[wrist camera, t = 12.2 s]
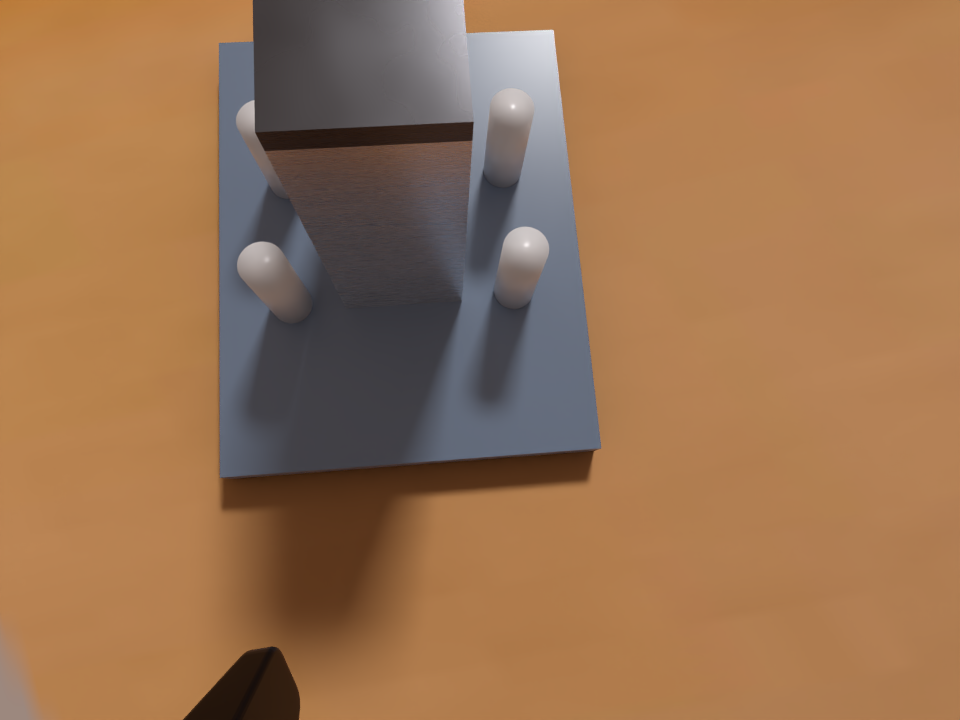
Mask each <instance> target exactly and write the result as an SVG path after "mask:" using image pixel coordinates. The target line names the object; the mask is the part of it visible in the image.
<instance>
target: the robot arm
mask: <svg viewBox="0 0 960 720" xmlns="http://www.w3.org/2000/svg"><path fill="white" fill-rule="evenodd" d="M299 713H300V697H299V692H298V688H297V686H296V683H295V681H294V679H293V677H292V674H291V672H290V670H289V668H288V665H287V663H286V661H285V658H284V656H283V654H282V652H281V651H280V650H279V649H278V648H277V647H267V648H261V649H255V650H250V651H247V652H246V653H244V654H243V655H242V656H241V657H240V658H239V659H238V660H237V661H236V662H235V664H234V665H233V666H232V667H231V668H230V669H229V670H228V671H227V672H226V673H225V674H224V676H223V677H222V678H221V679H220V680H219V681H218V682H217V683H216V684H215V685H214V686H213V688H212V689H211V690H210V691H209V692H208V693H207V694H206V695H205V696H204V697H203V698H202V700H201V701H200V702H199V703H198V704H197V705H196V706H195V707H194V708H193V709H192V710H191V712H190V713H189V714H188V715H187V716H186V717H185V718H184V719H183V720H299Z"/></svg>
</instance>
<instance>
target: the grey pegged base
mask: <svg viewBox="0 0 960 720" xmlns="http://www.w3.org/2000/svg"><path fill="white" fill-rule="evenodd" d="M466 37H467V49H468V60H469V72H470V84H471V95H472V107H473V118H474V126H473V141H472V156H471V172H470V187H469V202H468V217H467V233H466V248H465V263H464V278H463V294H462V301H454V302H438V303H423V304H407V305H392V306H376V307H360V308H346V307H345V305H344V303H343V301H342V299H341V297H340V295H339V293H338V291H337V290H336V288H335V286H334V284H333V282H332V280H331V278H330V276H329V274H328V272H327V270H326V268H325V266H324V265H323V263H322V261H321V259H320V257H319V255H318V253H317V251H316V249H315V247H314V245H313V243H312V241H311V239H310V238H309V236H308V234H307V232H306V230H305V228H304V226H303V224H302V222H301V220H300V218H299V216H298V214H297V212H296V211H295V209H294V207H293V205H292V203H291V201H290V199H289V197H288V195H287V193H286V191H285V189H284V187H283V186H282V184H281V182H280V180H279V178H278V176H277V174H276V172H275V170H274V168H273V166H272V164H271V162H270V160H269V159H268V157H267V155H266V153H265V151H264V149H263V147H262V145H261V143H260V141H259V139H258V137H257V135H256V133H255V108H254V42H235V43H219V267H220V478H227V479H237V478H250V477H262V476H275V475H288V474H301V473H314V472H327V471H340V470H353V469H366V468H379V467H392V466H405V465H418V464H431V463H444V462H457V461H470V460H483V459H496V458H509V457H522V456H535V455H548V454H561V453H573V452H586V451H595V450H598V449H601V442H600V433H599V425H598V416H597V407H596V398H595V390H594V381H593V372H592V364H591V355H590V346H589V337H588V329H587V320H586V311H585V302H584V294H583V285H582V276H581V268H580V259H579V250H578V241H577V233H576V224H575V215H574V207H573V198H572V189H571V180H570V172H569V163H568V154H567V146H566V137H565V128H564V119H563V111H562V102H561V93H560V84H559V76H558V67H557V58H556V50H555V41H554V32H553V30H537V31H512V32H487V33H466Z"/></svg>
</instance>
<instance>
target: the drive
mask: <svg viewBox="0 0 960 720" xmlns="http://www.w3.org/2000/svg"><path fill="white" fill-rule="evenodd" d="M253 40H254V108H255V133H256V135H257V137H258V139H259V141H260V143H261V145H262V147H263V149H264V151H265V153H266V155H267V157H268V159H269V160H270V162H271V164H272V166H273V168H274V170H275V172H276V174H277V176H278V178H279V180H280V182H281V184H282V186H283V187H284V189H285V191H286V193H287V195H288V197H289V199H290V201H291V203H292V205H293V207H294V209H295V211H296V212H297V214H298V216H299V218H300V220H301V222H302V224H303V226H304V228H305V230H306V232H307V234H308V236H309V238H310V239H311V241H312V243H313V245H314V247H315V249H316V251H317V253H318V255H319V257H320V259H321V261H322V263H323V265H324V266H325V268H326V270H327V272H328V274H329V276H330V278H331V280H332V282H333V284H334V286H335V288H336V290H337V291H338V293H339V295H340V297H341V299H342V301H343V303H344V305H345V307H346V308H360V307H376V306H392V305H407V304H423V303H438V302H454V301H462V294H463V278H464V263H465V248H466V233H467V217H468V202H469V187H470V172H471V156H472V141H473V126H474V118H473V107H472V95H471V84H470V72H469V60H468V49H467V37H466V26H465V14H464V3H463V0H253Z"/></svg>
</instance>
